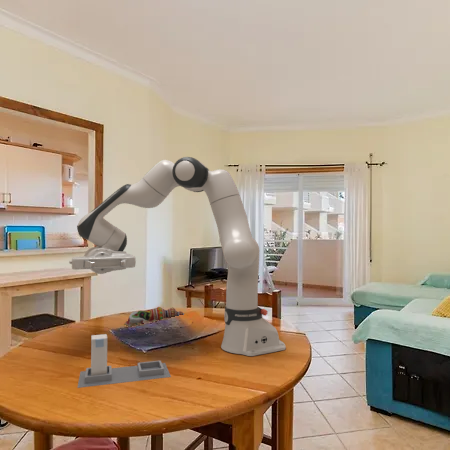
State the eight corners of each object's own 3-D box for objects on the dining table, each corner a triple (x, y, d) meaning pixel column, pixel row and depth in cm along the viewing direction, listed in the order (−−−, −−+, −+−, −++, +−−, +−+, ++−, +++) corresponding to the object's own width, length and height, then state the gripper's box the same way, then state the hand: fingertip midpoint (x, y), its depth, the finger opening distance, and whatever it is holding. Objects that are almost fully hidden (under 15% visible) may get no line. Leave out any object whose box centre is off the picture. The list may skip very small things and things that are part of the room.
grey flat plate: (165, 364, 111) (165, 357, 111) (171, 378, 100) (171, 370, 100) (80, 373, 103) (80, 365, 103) (77, 390, 93) (77, 381, 93)
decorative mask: (123, 303, 167) (188, 300, 176) (123, 319, 167) (188, 316, 176) (124, 315, 145) (198, 311, 153) (124, 333, 145) (198, 329, 153)
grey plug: (106, 373, 102) (106, 334, 102) (107, 379, 98) (107, 338, 98) (90, 375, 101) (91, 335, 101) (91, 381, 97) (91, 340, 97)
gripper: (68, 252, 123) (72, 255, 110) (129, 251, 132) (139, 253, 120) (68, 271, 122) (72, 276, 110) (129, 268, 132) (139, 272, 120)
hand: (108, 264), depth 115 cm, fingers open, 8 cm apart
